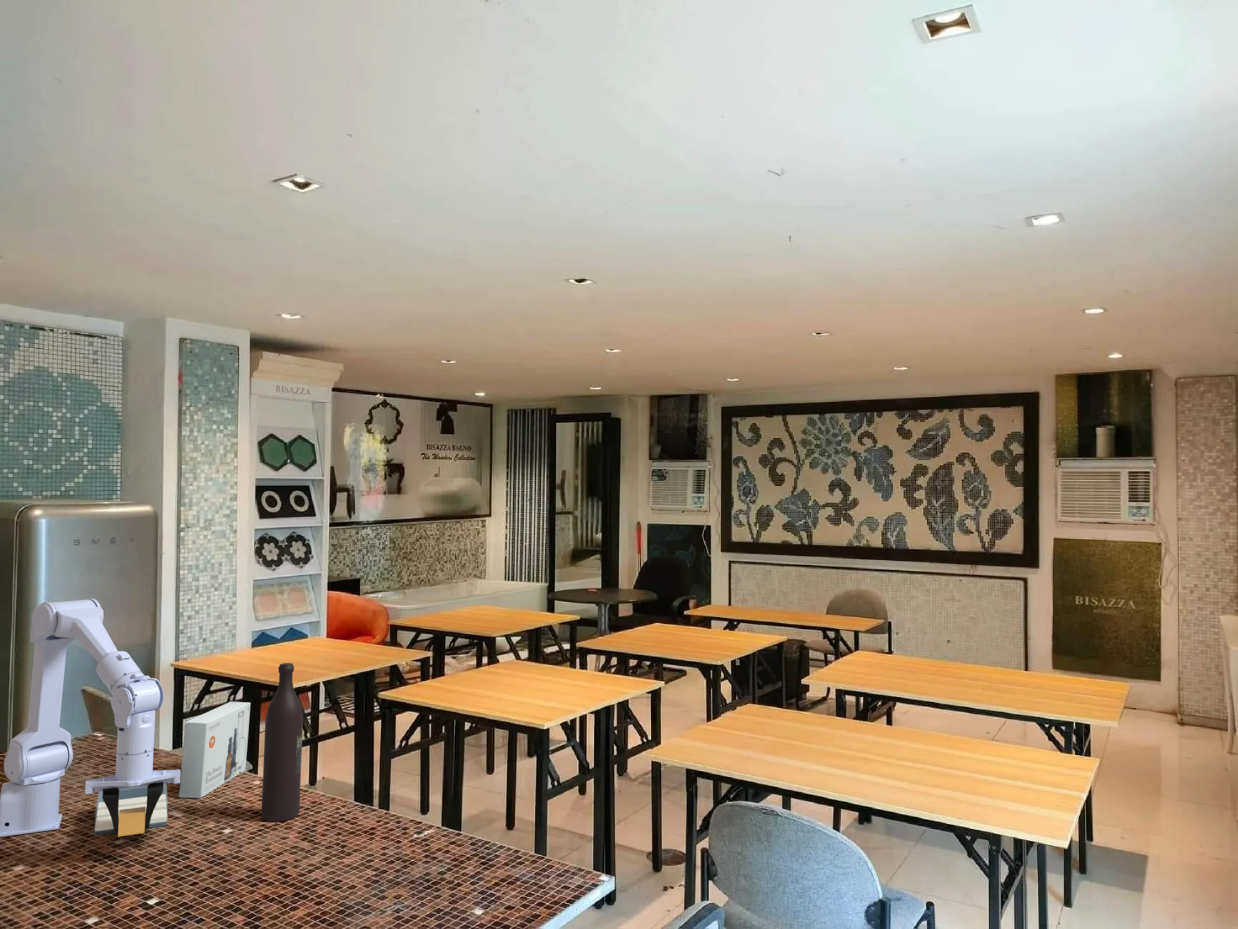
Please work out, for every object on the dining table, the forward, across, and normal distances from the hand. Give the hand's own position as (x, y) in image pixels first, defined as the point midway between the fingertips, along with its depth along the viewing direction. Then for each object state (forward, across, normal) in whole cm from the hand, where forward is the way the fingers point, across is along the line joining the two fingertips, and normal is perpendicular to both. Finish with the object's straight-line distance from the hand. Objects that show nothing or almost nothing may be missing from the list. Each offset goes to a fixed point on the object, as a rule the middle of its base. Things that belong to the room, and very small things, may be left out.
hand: (131, 829), depth 151 cm
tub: (+5, 0, +21) cm, 22 cm away
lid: (0, 0, +8) cm, 8 cm away
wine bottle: (+5, +26, +10) cm, 28 cm away
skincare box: (+5, +16, +38) cm, 42 cm away
